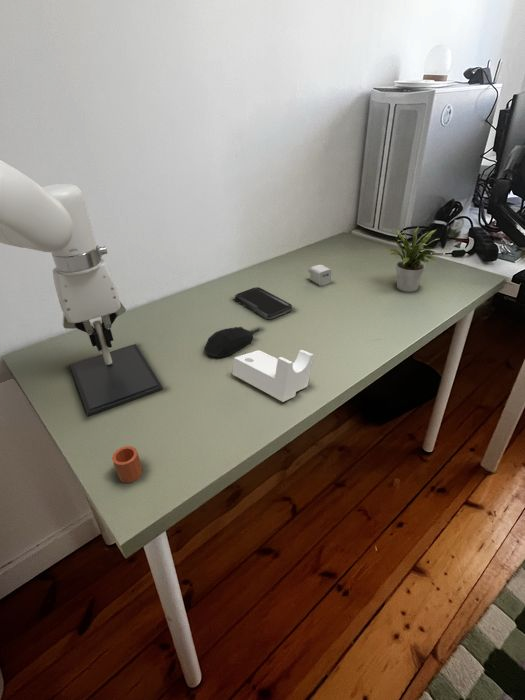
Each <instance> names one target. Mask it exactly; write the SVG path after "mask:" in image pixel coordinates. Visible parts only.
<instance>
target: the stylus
mask: <svg viewBox="0 0 525 700" xmlns="http://www.w3.org/2000/svg"><path fill="white" fill-rule="evenodd" d="M101 323H102V321H100V320H95V321H93V322H92V326H93V328H95V331H96V332H97V335H98V338H99V341H100V345H101V348H102V350H101V351H100V352H101V355H102V354H103V357H104V361H105V364H106V365H110V364H111V363H112V359H111V355H110V352H111V351H110V349H109V347H108V346H107V343H106V340H105V336H104V333H103V330H102V325H101Z"/></svg>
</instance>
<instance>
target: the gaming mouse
mask: <svg viewBox="0 0 525 700" xmlns="http://www.w3.org/2000/svg"><path fill="white" fill-rule="evenodd" d="M258 331H260V328H256V329H252V330H248V329H246V328H244V327H243V326H235V327H229V328H222V329H220V330H218V331H215V332H214V333H213V334H211V335H210V336H209V337H208V339H207V341H206V343H205V346H204V352H205V353H206V354H207V355H208V356H210V357H219V358H223V357H227V356H231V355H233V354H234V353H236V352H237V351H239V350H240V349H242V348H244V347H245V346H247V345H248V344H250V343H251V342H252V341H253V339H254V336H253V334H254V333H255V332H258Z"/></svg>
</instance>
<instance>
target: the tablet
mask: <svg viewBox="0 0 525 700" xmlns="http://www.w3.org/2000/svg"><path fill="white" fill-rule="evenodd" d="M109 352H110V355H111V359H112V363H111V364H110V365H106V364H105V361H104V357H103V354H102V353H101V354H99V355H95V356H93V357H89V358H86V359H83V360H79V361H76V362H74V363H70V364H69V366H70V370H71V372H72V374H73V378H74V381H75V383H76V387H77V389H78V392H79V394H80V398H81V400H82V401H81V402H82V403H83V406H84V409H85V413H86V415H87V417H91V416H94V415H96V414H99V413H102V412H105V411H108V410H110V409H113V408H115V407H118V406H121V405H123V404H127V403H129V402H133V401H135V400H138V399H140V398H143V397H146V396H149V395H153V394H154V393H158V392H160V391H163V388H164V387H163V386H162V384H161V382H160V381H159V379H158V377H157V376H156V374H155V372H154V371H153V369H152V368H151V366H150V365H149V363H148V361H147V359H146V358H145V356H144V355H143V353H142V351H141V350H140V348H139V347H138V345H137V344H136V343H134V344H131V345H128V346H124V347H121V348H117V349H115V350H112V351H109Z"/></svg>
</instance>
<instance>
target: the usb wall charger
mask: <svg viewBox="0 0 525 700" xmlns="http://www.w3.org/2000/svg"><path fill="white" fill-rule="evenodd" d="M307 272H308V273H310V274H309V280H310V281H312V282H314V283H315V284H317V285H319V286H321V287H322V286H325V285H327V284H330V283H331V282H332V276H333V275H332V272H333V271H332V269H331V268H329V267H327V266H325V265H323V264H320V263H319V264H317V265H313V266H311V267H310V269H309V268H307Z"/></svg>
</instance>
